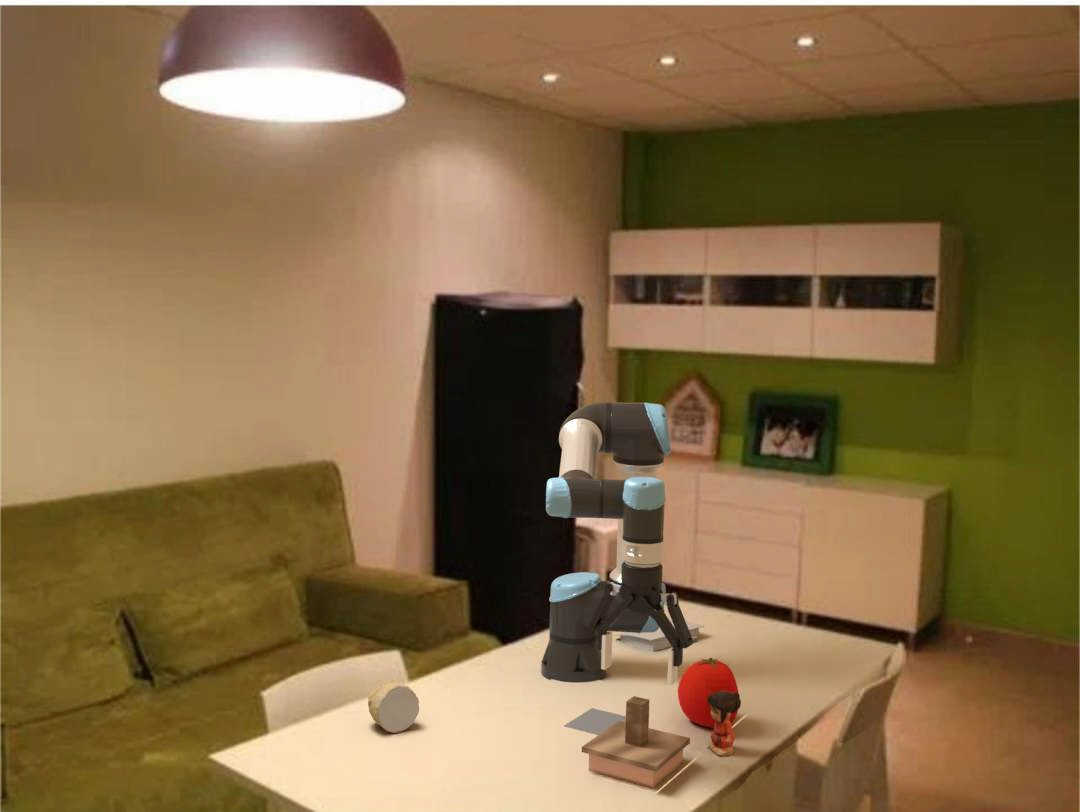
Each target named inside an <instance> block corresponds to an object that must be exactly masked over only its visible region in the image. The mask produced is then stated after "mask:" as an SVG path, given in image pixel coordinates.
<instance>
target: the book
mask: <svg viewBox="0 0 1080 812" xmlns="http://www.w3.org/2000/svg"><path fill="white" fill-rule="evenodd" d="M670 622H671V623H672V625H673V626H674V624H673V622H672V620H670ZM686 624H687V626H688V629H689V631H690V634H691V636H692V639H693V644H695V642H694V641H695V640H696V642H698V640H699V639H698V636H697V635H699V632H700V629H701V628H704V627H705V625H704V624H700V623H696V622H690V621H686ZM674 628H675V627H674ZM618 636H619V640H620V641H621V642H624V643H627V644H630V645H632V646H636V647H639V648H641V649H645V650H648V651H651V652H655V651H659V650H663V649H666V648H671V647H672V646H671V644H670V643H669V641H668V640H667V638H666V637H665V635H664V634H663V632H662V631H661V629H660V627H659V628H658V630H657V631H655V632H651V633H633V632H619V633H617V634H612V637H618Z"/></svg>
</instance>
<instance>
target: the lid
mask: <svg viewBox="0 0 1080 812" xmlns="http://www.w3.org/2000/svg"><path fill="white" fill-rule="evenodd" d="M625 716H626V722H622V721H618V722H617V723H615V724H614V725H612V726H611V727H609V728H608V729H607V730H605V731H604V732H602V733H601V734H599V735H596V736H595V737H594V738H592V739H591V740H590V741H588V742H586V743H585V744H584V745H582V746H581V753H582V754H588V755H589V754H591V755H595V756H598V757H602V758H606V759H610V760H613V761H617V762H621V763H625V764H629V765H632V766H636V767H640V768H644V769H647V770H651V771H655V772H657V771H658V770H659V769H660V768H661V767H663V766H664V765H665V764H666V763H667V762H668V761H670V760H671V759H672V758H673V757H674V756H675V755H677V754H678V753H679V752H680V751H681V750H683V751H684V749H685V748H686V747H687V746H688V745H690V744H691V737H688V736H683V735H679V734H676V733H675V734H674V733H671V732H666V731H662V730H658V729H654V728H649V727H650V699H648V698H643V697H639V696H631V697H630V698H629V699H627V700H626V702H625Z"/></svg>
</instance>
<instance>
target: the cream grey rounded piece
mask: <svg viewBox="0 0 1080 812" xmlns="http://www.w3.org/2000/svg"><path fill="white" fill-rule="evenodd" d="M367 706H368V712H369V714H370V715H371V718H372V720H373V721H374V722H375V724H378V726H380V727H381V728H382V729H383V730H384V731H385V732H388V733H389V732H390V733H392V734H397V733H401V732H403V731H404V730H407V729H408V728H410V727H411V725H413V724H414V723H415V721H416V720H417V716H418V715H419V713H420V701H419V698H418V696H417V694H416V693H415V692H414V690H412V689H411V688H410V687H409V686H408V685H405V684H402V683H399V682H395V681H392V682H389V683H385V684H383V685H379V686H378V687H376V688H375V689H373V690H372V691H370V692H369V695H368V699H367Z"/></svg>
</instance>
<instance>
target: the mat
mask: <svg viewBox="0 0 1080 812" xmlns="http://www.w3.org/2000/svg"><path fill="white" fill-rule="evenodd" d="M618 721H622V722H626V715H622V714H618V713H614V712H609V711H605V710H603V709H602V710H601V709H597V708H593V707H592V708H591V707H590V709H588V710H587V711H585V712H583V713H582V714H581V715H578V716H577V717H576V718H574V719H572V720H570V721H569V722H568V723H565V724H564V725H563V727H565V728H570V729H574V730H577V731H579V732H580V731H581V732H585V733H589V734H594V735H596V736H598V735H599V734H601V733H602V732H604V731H605V730H607V729H608V728H609V727H611V726H612V725H614V724H615V723H617V722H618Z"/></svg>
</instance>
